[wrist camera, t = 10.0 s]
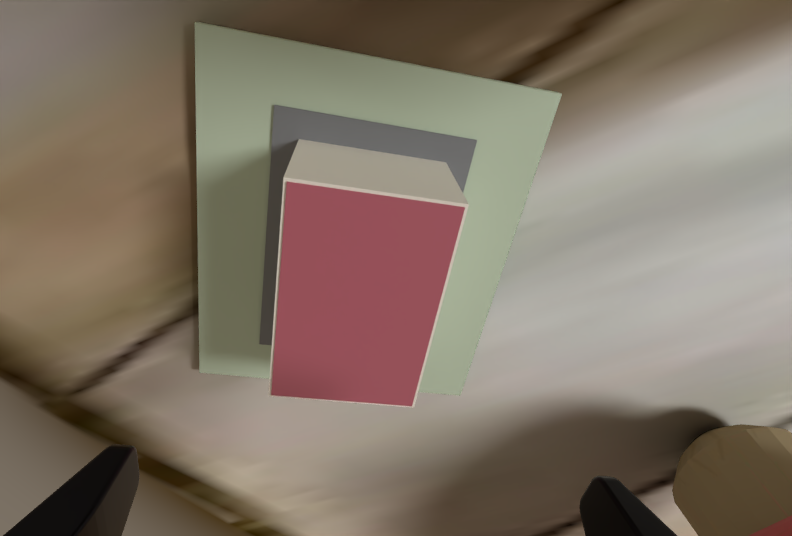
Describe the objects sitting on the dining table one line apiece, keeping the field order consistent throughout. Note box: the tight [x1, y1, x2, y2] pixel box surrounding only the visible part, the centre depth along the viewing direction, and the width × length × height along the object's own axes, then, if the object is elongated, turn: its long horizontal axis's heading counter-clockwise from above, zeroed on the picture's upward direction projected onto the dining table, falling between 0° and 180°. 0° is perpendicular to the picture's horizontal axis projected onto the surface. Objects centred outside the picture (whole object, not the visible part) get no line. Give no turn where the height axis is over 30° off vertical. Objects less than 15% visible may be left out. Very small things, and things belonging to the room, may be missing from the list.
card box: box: [268, 139, 469, 407], centre depth 17 cm, size 8×5×4 cm, turn 170°
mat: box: [195, 22, 562, 396], centre depth 19 cm, size 12×14×1 cm
